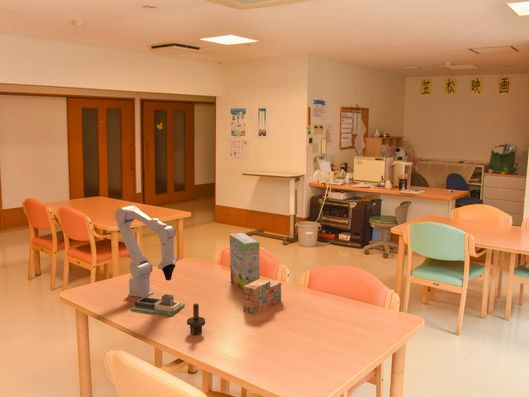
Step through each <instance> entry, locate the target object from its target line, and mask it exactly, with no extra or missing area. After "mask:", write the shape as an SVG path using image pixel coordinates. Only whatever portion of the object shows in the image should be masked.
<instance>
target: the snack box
mask: <svg viewBox="0 0 529 397" xmlns="http://www.w3.org/2000/svg"><path fill="white" fill-rule="evenodd" d="M228 236H229V257H230V259H229V261H230V281H231V282H232V283H233V284H234V285H236V286H237V288H239V289H240V290H241V291H243V286H245V285H247V284H250V283H252V282H254V281H256V280H258V279H261V277H260V272H261V271H260V268H261V267H260V241H259V240H256V239H255V238H253V237H251V236H249V235H247V234H246V233H244V232H239V233H229V235H228Z"/></svg>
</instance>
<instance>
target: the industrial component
mask: <svg viewBox="0 0 529 397" xmlns="http://www.w3.org/2000/svg"><path fill="white" fill-rule="evenodd" d="M199 305H200V304H199V303H193V306H192V307H193V308H192V309H193V310H192V311H193V312H192V314H193V316H192V317H189V318H187V319H186V324H187V325H188V326H189V328H190V334H191V336H195V335H201V334H202V333H203V327H204V326H205V325H206V319H205V318H204V317H201V316H200V311H199V307H200V306H199Z"/></svg>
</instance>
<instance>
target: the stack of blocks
mask: <svg viewBox="0 0 529 397" xmlns="http://www.w3.org/2000/svg"><path fill="white" fill-rule="evenodd" d="M242 291H243V292H242V298H243V311H242V312H243V313H247V314H251V315H257V314H258V313H261V312H262V311H265V310H267V309H268V308H270V307H272V306H274V305H275V304H277V303H280V302H281V301H282V282H281V281H277V280H271V279H270V280H266V279H262V278H260V279H258V280H256V281H254V282H252V283H250V284H247V285H245V286H243V290H242Z"/></svg>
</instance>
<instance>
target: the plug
mask: <svg viewBox="0 0 529 397" xmlns="http://www.w3.org/2000/svg"><path fill="white" fill-rule="evenodd" d="M161 299H162V305H164V306H171V307H173V306H174V301H175V300H174V295H173V294H163V295H162V296H161Z"/></svg>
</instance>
